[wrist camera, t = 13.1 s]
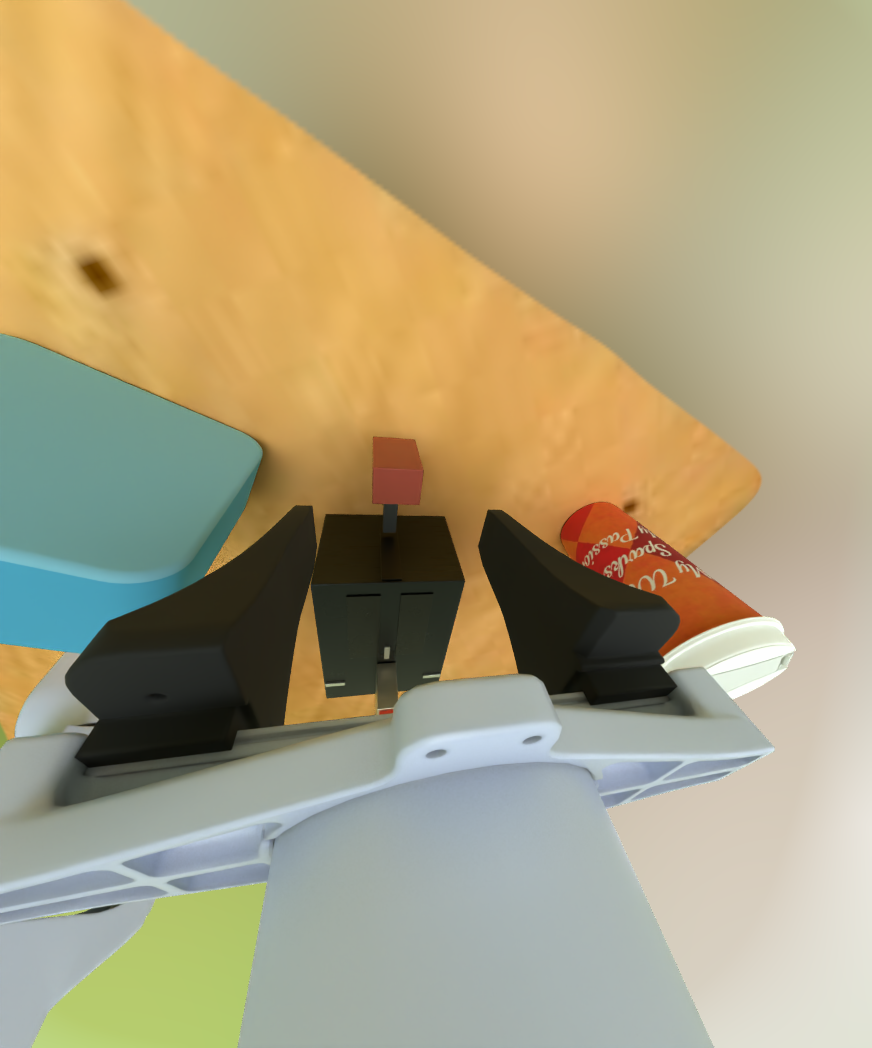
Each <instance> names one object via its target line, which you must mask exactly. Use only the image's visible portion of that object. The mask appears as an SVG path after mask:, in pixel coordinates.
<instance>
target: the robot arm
mask: <svg viewBox="0 0 872 1048" xmlns="http://www.w3.org/2000/svg"><path fill="white" fill-rule="evenodd" d="M478 548H479V552H480V556H481V560H482V564H483V567H484V569H485V572H486V574H487V577H488V579H489V582H490V584H491V587H492V589H493V591H494V594H495V596H496V598H497V601H498V603H499V606H500V608H501V611H502V614H503V616H504V620H505V623H506V627H507V630H508V634H509V637H510V641H511V645H512V649H513V652H514V656H515V660H516V665H517V669H518V673H519V674H508V675H498V676H487V677H477V678H466V679H456V680H445V681H435V682H431V683H427V684H422V685H418V686H416V687H414V688H412V689H410V690H409V691H407V692H405V693H403V694H402V695H401V697H400V698H399V700H398V701H397V703H396V704H395V706H394V708H393V713H390V714H381V715H372V716H363V717H354V718H346V719H337V720H328V721H319V722H310V723H302V724H293V725H284V719H285V711H286V703H287V696H288V688H289V681H290V674H291V667H292V661H293V654H294V648H295V642H296V636H297V630H298V625H299V621H300V616H301V613H302V609H303V606H304V602H305V599H306V595H307V592H308V588H309V585H310V581H311V578H312V574H313V570H314V565H315V558H316V550H317V542H316V534H315V525H314V516H313V507H312V506H297V505H296V506H294V507H293V508H292V509H291V510H290V511H289V512H288V513H287V514H286V515H285V516H284V517H283V518H282V519H281V520H280V521H279V522H278V523H277V524H276V525H275V526H274V527H272V528H271V529H270V530H269V531H268V532H267V533H266V534H265V535H264V536H263V537H261V538H260V539H259V540H258V541H257V542H255V543H254V544H253V545H252V546H251V547H249V548H248V549H247V550H246V551H244V552H243V553H242V554H240V555H239V556H237V557H236V558H234V559H233V560H231V561H230V562H228V563H227V564H225V565H224V566H222V567H221V568H219V569H217V570H216V571H214V572H212V573H211V574H209V575H207V576H205V577H204V578H202V579H200V580H198V581H197V582H195V583H193V584H191V585H189V586H187V587H185V588H183V589H181V590H179V591H177V592H175V593H173V594H171V595H169V596H167V597H165V598H162V599H160V600H158V601H156V602H154V603H151V604H149V605H146V606H144V607H142V608H139V609H137V610H134V611H132V612H129V613H127V614H124V615H122V616H119V617H117V618H114V619H112V620H109V621H108V622H107V623H106V624H105V625H104V626H103V627H102V628H101V630H100V631H99V632H98V633H97V634H96V636H95V637H94V638H93V639H92V640H91V642H90V643H89V644H88V645H87V647H86V648H85V649H84V650H83V652H82V653H81V654H79V653H71V652H65V653H64V654H63V655H62V657H61V658H60V659H59V660H58V661H57V662H56V664H55V665H54V666H53V667H52V668H51V669H50V671H49V672H48V673H47V674H46V675H45V676H44V678H43V679H42V680H41V681H40V682H39V683H38V685H37V686H36V687H35V688H34V689H33V691H32V692H31V694H30V695H29V696H28V698H27V700H26V701H25V703H24V705H23V707H22V709H21V711H20V714H19V716H18V719H17V722H16V726H15V738H13V739H10V740H8V741H6V743H5V744H4V745H3V746H2V747H1V749H0V1048H31V1047H32V1045H33V1043H34V1041H35V1038H36V1036H37V1034H38V1032H39V1030H40V1028H41V1026H42V1024H43V1022H44V1019H45V1017H46V1015H47V1013H48V1012H49V1011H50V1010H51V1008H52V1007H53V1006H54V1005H55V1004H56V1003H57V1002H58V1001H59V1000H61V999H62V998H63V997H64V996H65V995H66V994H67V993H68V992H69V991H70V990H72V989H73V988H74V987H75V986H76V985H77V984H78V983H79V982H81V981H82V980H83V979H84V978H85V977H87V976H88V975H89V974H90V973H91V972H92V971H94V970H95V969H96V968H97V967H98V966H99V965H101V964H102V963H103V962H104V961H105V960H106V959H107V958H109V957H110V956H111V955H112V954H114V953H115V952H116V951H117V950H118V949H119V948H120V947H121V946H123V945H124V944H125V943H126V942H127V941H128V940H129V939H130V938H131V937H132V936H133V935H134V934H135V933H136V932H137V931H138V930H139V929H140V928H141V926H142V925H143V923H144V921H145V918H146V916H147V915H148V914H149V912H150V910H151V908H152V906H153V904H154V901H155V899H156V898H163V897H170V896H177V895H183V894H190V893H196V892H204V891H211V890H217V889H224V888H231V887H237V886H245V885H251V884H258V883H265V882H267V886H266V891H265V897H264V903H263V908H262V914H261V920H260V925H259V931H258V936H257V942H256V948H255V953H254V959H253V964H252V970H251V975H250V981H249V987H248V992H247V998H246V1003H245V1009H244V1014H243V1020H242V1026H241V1031H240V1037H239V1042H238V1048H714V1046H713V1044H712V1042H711V1040H710V1038H709V1035H708V1033H707V1031H706V1029H705V1027H704V1024H703V1022H702V1020H701V1018H700V1016H699V1013H698V1011H697V1009H696V1007H695V1005H694V1002H693V1000H692V998H691V996H690V993H689V991H688V989H687V987H686V985H685V982H684V980H683V978H682V976H681V974H680V971H679V969H678V967H677V965H676V962H675V960H674V958H673V956H672V954H671V951H670V949H669V947H668V945H667V943H666V940H665V938H664V936H663V934H662V932H661V929H660V927H659V925H658V923H657V921H656V918H655V916H654V914H653V912H652V909H651V907H650V905H649V903H648V901H647V898H646V896H645V894H644V892H643V890H642V887H641V885H640V883H639V881H638V879H637V876H636V874H635V872H634V870H633V867H632V865H631V863H630V861H629V859H628V857H627V854H626V852H625V850H624V848H623V845H622V843H621V841H620V839H619V837H618V834H617V832H616V830H615V828H614V825H613V823H612V821H611V819H610V817H609V815H608V812H607V810H606V809H608V808H611V807H614V806H619V805H622V804H626V803H630V802H633V801H637V800H640V799H644V798H647V797H651V796H655V795H659V794H663V793H667V792H670V791H674V790H678V789H683V788H687V787H691V786H695V785H700V784H705V783H709V782H714V781H718V780H720V779H722V778H724V777H726V776H728V775H730V774H732V773H734V772H736V771H737V770H739V769H741V768H743V767H745V766H747V765H749V764H751V763H753V762H754V761H757V760H759V759H760V758H762V757H764V756H766V755H768V754H770V753H772V752H774V750H775V748H774V746H773V745H772V744H771V743H770V742H769V740H768V739H767V738H766V737H765V736H764V735H763V734H762V733H761V731H759V729H758V728H757V727H756V726H755V725H754V723H753V722H752V721H751V720H750V719H749V718H748V717H747V716H746V715H745V713H744V712H743V711H742V710H741V709H740V708H739V707H738V706H737V704H736V703H735V702H734V701H733V700H732V699H731V698H730V696H729V695H728V694H727V693H726V692H725V691H724V690H723V688H722V687H721V686H720V685H719V684H718V683H717V682H716V681H715V679H714V678H713V677H712V676H711V675H710V674H709V673H708V672H707V670H706V669H705V668H704V667H692V668H683V669H676V670H673V671H670V672H668V673H667V672H666V671H665V670H664V668H663V667H662V666H661V664H663V663H664V662H665V660H664V658H663V657H662V655H661V654H660V653H659V652H658V651H659V650H660V649H661V648H662V647H663V646H664V644H665V643H666V642H667V641H668V640H669V639H670V638H671V637H672V636H673V635H674V633H675V632H676V631H677V629H678V627H679V624H680V616H679V615H678V613H677V612H676V611H675V610H674V609H673V608H672V607H671V606H670V605H669V604H668V603H667V602H666V600H665V599H664V598H663V597H661V596H659V595H656V594H653V593H650V592H647V591H644V590H641V589H638V588H635V587H632V586H629V585H626V584H624V583H621V582H619V581H616V580H614V579H611V578H609V577H607V576H604V575H602V574H600V573H598V572H596V571H594V570H592V569H589V568H587V567H585V566H583V565H581V564H580V563H578V562H576V561H574V560H572V559H571V558H569V557H567V556H565V555H564V554H562V553H560V552H559V551H557V550H556V549H554V548H553V547H551V546H550V545H548V544H547V543H545V542H544V541H542V540H541V539H540V538H538V537H537V536H535V535H534V534H533V533H531V532H530V531H529V530H527V529H526V528H525V527H524V526H522V525H521V524H520V523H518V522H517V521H516V520H515V519H513V518H512V517H511V516H509V515H508V514H506V513H505V512H504V511H502V510H488V511H487V515H486V519H485V522H484V526H483V530H482V534H481V537H480V541H479V545H478ZM85 909H89V910H87V911H86V912H82V913H79V914H75V915H69V916H59V917H48V918H39V917H44V916H50V915H56V914H62V913H67V912H72V911H78V910H85ZM34 918H38V919H34Z"/></svg>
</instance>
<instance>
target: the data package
mask: <svg viewBox="0 0 872 1048" xmlns="http://www.w3.org/2000/svg"><path fill="white" fill-rule="evenodd" d="M262 455H263V452H262V448H261V447H260V445H259V444H258V443H257V442H256V441H255V440H254V439H253V438H251V437H250V436H248V435H246V434H245V433H243V432H240V431H238V430H236V429H233V428H231V427H229V426H226V425H224V424H222V423H219V422H217V421H215V420H212V419H210V418H208V417H205V416H203V415H201V414H198V413H196V412H194V411H191V410H189V409H187V408H184V407H182V406H179V405H177V404H175V403H172V402H170V401H168V400H165V399H163V398H161V397H158V396H156V395H154V394H151V393H149V392H147V391H144V390H142V389H140V388H137V387H135V386H133V385H130V384H128V383H125V382H123V381H121V380H118V379H116V378H114V377H111V376H109V375H107V374H104V373H102V372H100V371H97V370H95V369H93V368H90V367H88V366H86V365H83V364H81V363H79V362H76V361H74V360H72V359H69V358H67V357H64V356H62V355H60V354H57V353H55V352H53V351H50V350H48V349H46V348H43V347H41V346H39V345H36V344H34V343H31V342H28V341H25V340H22V339H19V338H16V337H13V336H9V335H5V334H0V643H1V644H8V645H16V646H24V647H32V648H40V649H48V650H55V651H63V652H71V653H79V654H81V653H82V652H83V650H84V649H85V648H86V647H87V645H88V644H89V643H90V642H91V640H92V639H93V638H94V637H95V636H96V634H97V633H98V632H99V631H100V630H101V628H102V627H103V626H104V625H105V624H106V623H107V622H108V621H109V620H112V619H114V618H117V617H119V616H122V615H124V614H127V613H129V612H132V611H134V610H137V609H139V608H142V607H144V606H146V605H149V604H151V603H154V602H156V601H158V600H160V599H162V598H165V597H167V596H169V595H171V594H173V593H175V592H177V591H179V590H181V589H183V588H185V587H187V586H189V585H191V584H193V583H195V582H197V581H198V580H200V579H202V578H204V576H205V574H206V573H207V571H208V569H209V568H210V566H211V564H212V563H213V561H214V559H215V558H216V556H217V554H218V553H219V551H220V549H221V548H222V546H223V544H224V543H225V541H226V539H227V538H228V536H229V534H230V532H231V531H232V529H233V527H234V526H235V524H236V522H237V521H238V519H239V517H240V516H241V514H242V512H243V511H244V509H245V506H246V503H247V500H248V497H249V494H250V491H251V488H252V485H253V483H254V480H255V477H256V474H257V471H258V468H259V465H260V462H261V459H262Z"/></svg>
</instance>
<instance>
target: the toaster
mask: <svg viewBox="0 0 872 1048" xmlns="http://www.w3.org/2000/svg"><path fill="white" fill-rule="evenodd" d="M380 527H383V515H336V514H326V516H325V520H324V525H323V530H322V534H321V539H320V544H319V548H318V553H317V557H316V562H315V567H314V571H313V576H312V581H311V591H312V598H313V605H314V612H315V619H316V626H317V634H318V641H319V648H320V655H321V662H322V669H323V676H324V683H325V690H326V697H327V698H336V697H346V696H357V695H367V694H375V685H376V669H377V664H383V663H396V673H397V689H398V691H408V690H410V689H412V688H414V687H416V686H418V685H422V684H427V683H431V682H435V681H439V678H440V674H441V670H442V667H443V663H444V659H445V655H446V652H447V648H448V644H449V640H450V636H451V633H452V629H453V625H454V621H455V617H456V614H457V610H458V606H459V602H460V599H461V595H462V591H463V587H464V583H465V579H464V576H463V573H462V569H461V566H460V563H459V560H458V557H457V554H456V551H455V547H454V544H453V541H452V538H451V535H450V532H449V529H448V525H447V522H446V519H445V517H439V516H397V524H396V527H397V534H398V544H399V554H400V564H401V574H402V580H381V546H380ZM422 593H433V599H432V605H431V610H430V615H429V621H428V626H427V631H426V637H425V642H424V647H423V653H419V654H405V655H395V649H396V639H397V629H398V619H399V609H400V599H401V594H422ZM360 595H381V607H380V628H379V650H378V657H364V658H350V659H349V643H348V623H347V602H346V596H360Z"/></svg>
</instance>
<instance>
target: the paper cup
mask: <svg viewBox="0 0 872 1048" xmlns="http://www.w3.org/2000/svg"><path fill="white" fill-rule="evenodd" d="M561 542H562V544H563V546H564V548H565V550H566V551H567V553H568V555H569V556H570V558H571V559H572V560H574V561H576V562H578V563H580V564H581V565H583V566H585V567H587V568H589V569H592V570H594V571H596V572H598V573H600V574H602V575H604V576H607V577H609V578H611V579H614V580H616V581H619V582H621V583H624V584H626V585H629V586H632V587H635V588H638V589H641V590H644V591H647V592H650V593H653V594H656V595H659V596H661V597H663V598H664V599H665V600H666V602H667V603H668V604H669V605H670V606H671V607H672V608H673V609H674V610H675V611H676V612H677V613H678V615H679V616H680V624H679V627H678V629H677V631H676V632H675V633H674V635H673V636H672V637H671V638H670V639H669V640H668V641H667V642H666V643H665V644H664V646H663V647H662V648H661V649H660V650H659V651H658V652H659V653H660V654H661V655H662V657H663V658H664V660H665V662H664V663H663V664H661V666H662V667H663V668H664V670H665V671H666V672H667V673H668V672H670V671H673V670H676V669H683V668H692V667H704V668H705V669H706V670H707V672H708V673H709V674H710V675H711V676H712V677H713V678H714V679H715V681H716V682H717V683H718V684H719V685H720V686H721V687H722V688H723V690H724V691H725V692H726V693H727V694H728V695H729V696H730V698H731V699H734V698H736V697H739V696H741V695H743V694H746V693H748V692H750V691H752V690H754V689H756V688H757V687H760V686H761V685H763V684H765V683H767V682H768V681H770V680H772V679H773V678H775V677H776V676H777V675H779V674H780V673H782V672H783V671H784V670H785V669H786V668H787V665H788V664H789V662H790V660H791V658H792V656H793V654H794V652H793V651H796V649H795V647H794V645H793V644H792V643H791V642H790V641H789V639H788V638H787V637H786V636H785V635H784V629H783V627H782V624H781V623H780V622H779V621H778V620H776V619H774V618H771V617H763V616H761V615H760V614H759V613H757V612H756V611H755V610H753V609H752V608H751V607H749V606H748V605H747V604H745V603H744V602H743V601H741V600H740V599H739V598H738V597H736V596H735V595H733V594H732V593H731V592H730V591H728V590H727V589H725V588H724V587H723V586H722V585H720V584H719V583H718V582H716V581H715V580H714V579H712V578H711V577H710V576H709V575H707V574H706V573H705V572H703V571H702V570H701V569H699V568H698V567H697V566H695V565H694V564H693V563H691V562H690V561H689V560H688V559H686V558H685V557H684V556H682V555H681V554H680V553H678V552H677V551H676V550H674V549H673V548H672V547H670V546H669V545H668V544H666V543H665V542H664V541H662V540H661V539H660V538H658V537H657V536H656V535H654V534H653V533H652V532H651V531H649V530H648V529H647V528H645V527H644V526H642V525H641V524H640V523H638V522H637V521H636V520H634V519H633V518H632V517H630V516H629V515H628V514H626V513H625V512H623V511H622V510H621V509H619V508H618V507H616V506H614V505H613V504H610V503H606V502H598V503H593V504H590V505H587V506H585V507H583V508H581V509H580V510H578V511H577V512H575V513H574V514H573V515H572V516H571V517H570V518H569V519H568V520H567V521H566V523H565V524H564V526H563V528H562V531H561Z"/></svg>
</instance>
